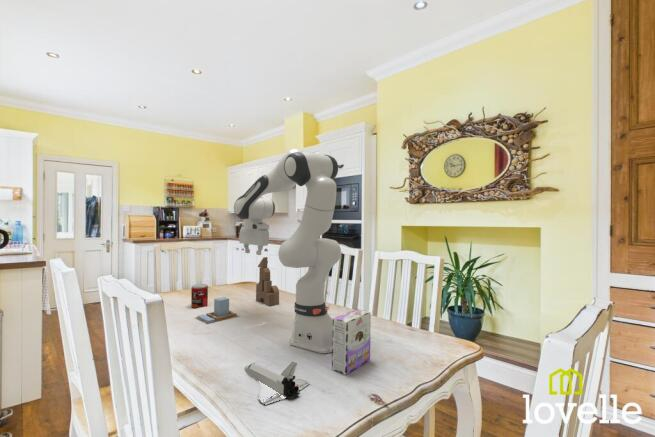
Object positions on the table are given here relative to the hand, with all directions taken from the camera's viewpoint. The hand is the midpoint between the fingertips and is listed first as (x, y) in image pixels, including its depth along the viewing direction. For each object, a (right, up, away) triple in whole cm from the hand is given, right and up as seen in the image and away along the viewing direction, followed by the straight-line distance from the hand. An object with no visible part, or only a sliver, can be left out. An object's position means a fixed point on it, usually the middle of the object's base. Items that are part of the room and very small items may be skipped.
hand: (253, 253), depth 159 cm
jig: (-14, -29, -9) cm, 33 cm away
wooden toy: (+3, -29, +22) cm, 37 cm away
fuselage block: (-13, -28, -7) cm, 31 cm away
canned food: (-30, -29, +12) cm, 44 cm away
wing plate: (-18, -28, -13) cm, 35 cm away
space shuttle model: (+19, -31, -64) cm, 73 cm away
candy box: (+44, -31, -52) cm, 75 cm away
